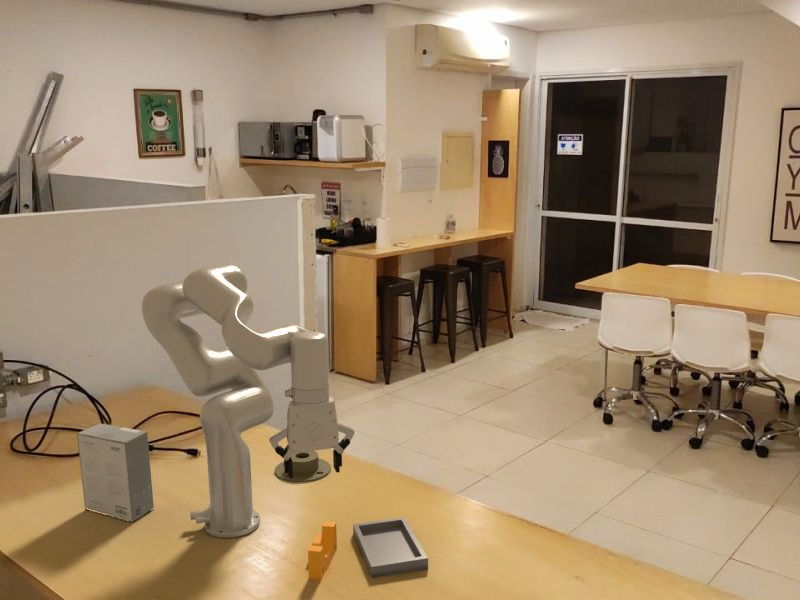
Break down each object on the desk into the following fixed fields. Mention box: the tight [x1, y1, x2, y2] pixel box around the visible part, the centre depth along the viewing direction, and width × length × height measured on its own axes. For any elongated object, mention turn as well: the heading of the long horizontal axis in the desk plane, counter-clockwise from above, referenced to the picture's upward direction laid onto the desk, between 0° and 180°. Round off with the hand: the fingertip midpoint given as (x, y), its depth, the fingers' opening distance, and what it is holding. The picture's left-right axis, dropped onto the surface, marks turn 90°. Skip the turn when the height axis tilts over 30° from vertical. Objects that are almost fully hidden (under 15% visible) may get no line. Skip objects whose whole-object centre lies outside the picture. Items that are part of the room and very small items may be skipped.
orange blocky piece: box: [307, 521, 338, 581], centre depth 157 cm, size 12×4×6 cm, turn 169°
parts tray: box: [352, 516, 429, 579], centre depth 162 cm, size 12×18×2 cm, turn 15°
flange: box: [274, 450, 332, 483], centre depth 202 cm, size 5×15×15 cm
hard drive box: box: [76, 423, 155, 523], centre depth 179 cm, size 16×8×20 cm, turn 65°
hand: (313, 472), depth 154 cm, fingers open, 9 cm apart
